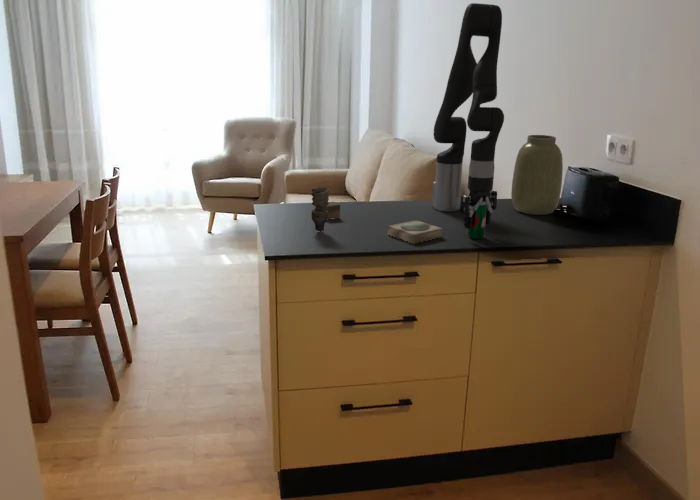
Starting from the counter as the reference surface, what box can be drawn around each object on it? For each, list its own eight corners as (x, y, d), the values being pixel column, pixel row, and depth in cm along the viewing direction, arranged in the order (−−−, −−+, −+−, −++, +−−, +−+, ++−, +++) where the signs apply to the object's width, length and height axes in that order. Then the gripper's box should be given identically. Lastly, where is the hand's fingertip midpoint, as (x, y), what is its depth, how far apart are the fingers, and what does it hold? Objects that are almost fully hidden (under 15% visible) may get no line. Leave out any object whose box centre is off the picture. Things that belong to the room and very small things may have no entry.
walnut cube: (327, 206, 211) (327, 220, 213) (340, 204, 214) (339, 218, 215) (320, 203, 215) (320, 217, 217) (332, 201, 218) (332, 215, 219)
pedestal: (387, 234, 197) (387, 225, 196) (415, 228, 204) (415, 219, 203) (413, 244, 188) (414, 234, 187) (441, 237, 195) (442, 227, 194)
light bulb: (331, 231, 200) (332, 185, 195) (325, 236, 195) (325, 188, 190) (315, 229, 202) (315, 183, 197) (308, 234, 197) (308, 187, 192)
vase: (520, 202, 241) (527, 132, 233) (564, 209, 232) (573, 136, 223) (502, 211, 228) (509, 136, 220) (548, 219, 218) (557, 141, 210)
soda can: (484, 240, 193) (487, 202, 189) (467, 239, 194) (470, 201, 190) (484, 235, 198) (487, 198, 194) (467, 234, 199) (470, 197, 195)
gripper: (487, 170, 197) (483, 220, 202) (455, 174, 188) (452, 226, 193) (506, 173, 191) (501, 225, 196) (474, 179, 183) (470, 232, 188)
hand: (477, 225), depth 195 cm, fingers open, 8 cm apart
